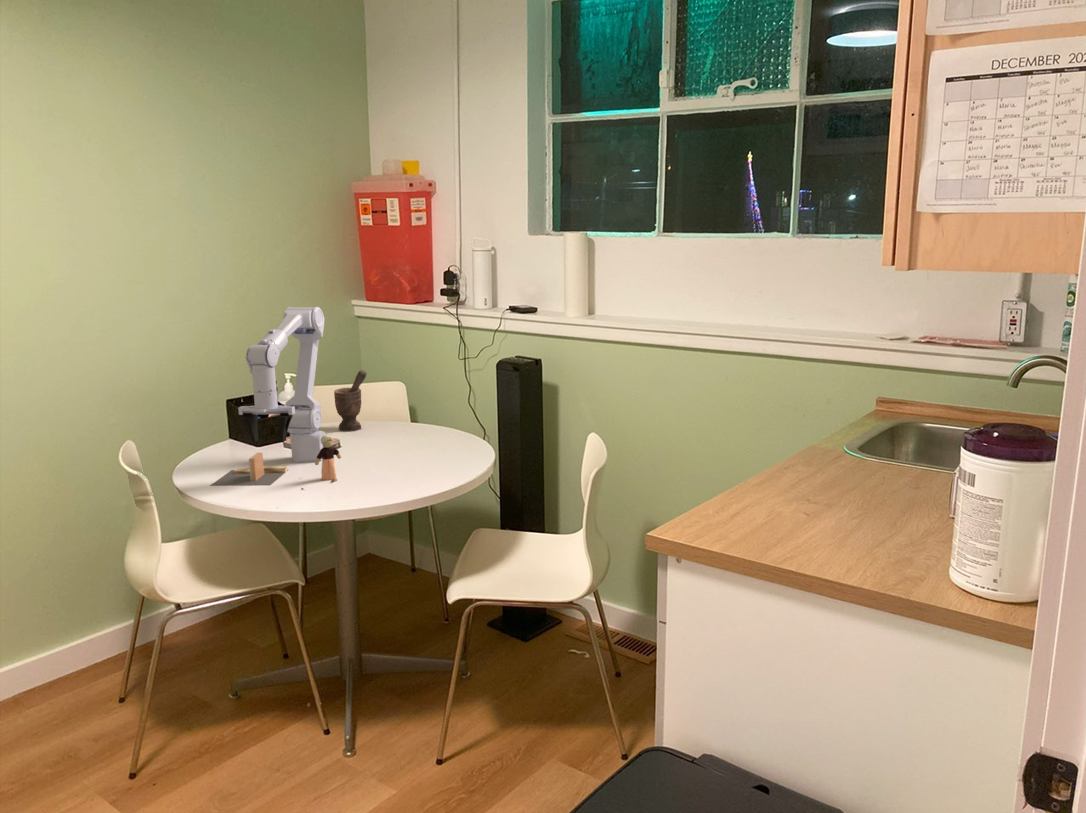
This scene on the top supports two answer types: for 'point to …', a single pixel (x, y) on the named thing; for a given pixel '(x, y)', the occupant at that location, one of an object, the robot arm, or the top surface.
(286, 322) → the robot arm
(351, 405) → the mortar and pestle
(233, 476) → the mat
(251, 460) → the tile
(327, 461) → the grandmother figurine
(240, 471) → the light wooden plank
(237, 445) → the top surface
